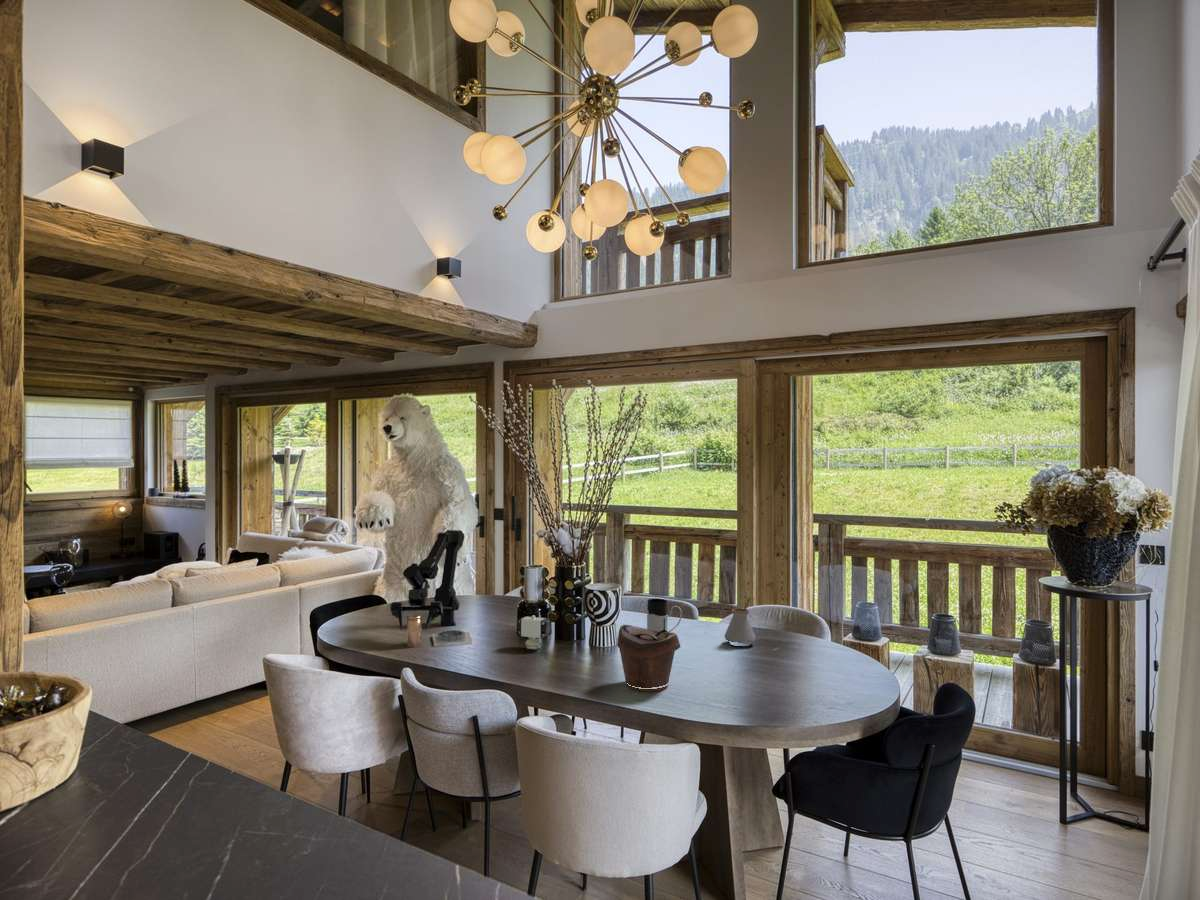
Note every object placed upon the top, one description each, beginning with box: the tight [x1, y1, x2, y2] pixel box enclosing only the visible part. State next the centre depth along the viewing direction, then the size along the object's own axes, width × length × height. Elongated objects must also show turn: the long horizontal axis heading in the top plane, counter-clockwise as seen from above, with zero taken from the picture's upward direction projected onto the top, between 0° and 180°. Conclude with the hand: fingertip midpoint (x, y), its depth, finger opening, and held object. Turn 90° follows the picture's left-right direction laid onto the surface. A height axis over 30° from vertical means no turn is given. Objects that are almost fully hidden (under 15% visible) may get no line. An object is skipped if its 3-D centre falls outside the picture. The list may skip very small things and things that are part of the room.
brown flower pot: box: [617, 624, 681, 693], centre depth 212 cm, size 18×20×18 cm
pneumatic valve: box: [515, 615, 551, 651], centre depth 253 cm, size 6×12×12 cm, turn 72°
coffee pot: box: [724, 597, 757, 643], centre depth 263 cm, size 21×12×15 cm, turn 154°
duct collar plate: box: [431, 629, 473, 647], centre depth 263 cm, size 14×14×2 cm
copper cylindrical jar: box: [406, 613, 423, 648], centre depth 255 cm, size 5×5×11 cm
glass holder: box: [646, 598, 683, 633], centre depth 264 cm, size 9×14×15 cm, turn 64°
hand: (413, 628), depth 254 cm, fingers open, 9 cm apart
